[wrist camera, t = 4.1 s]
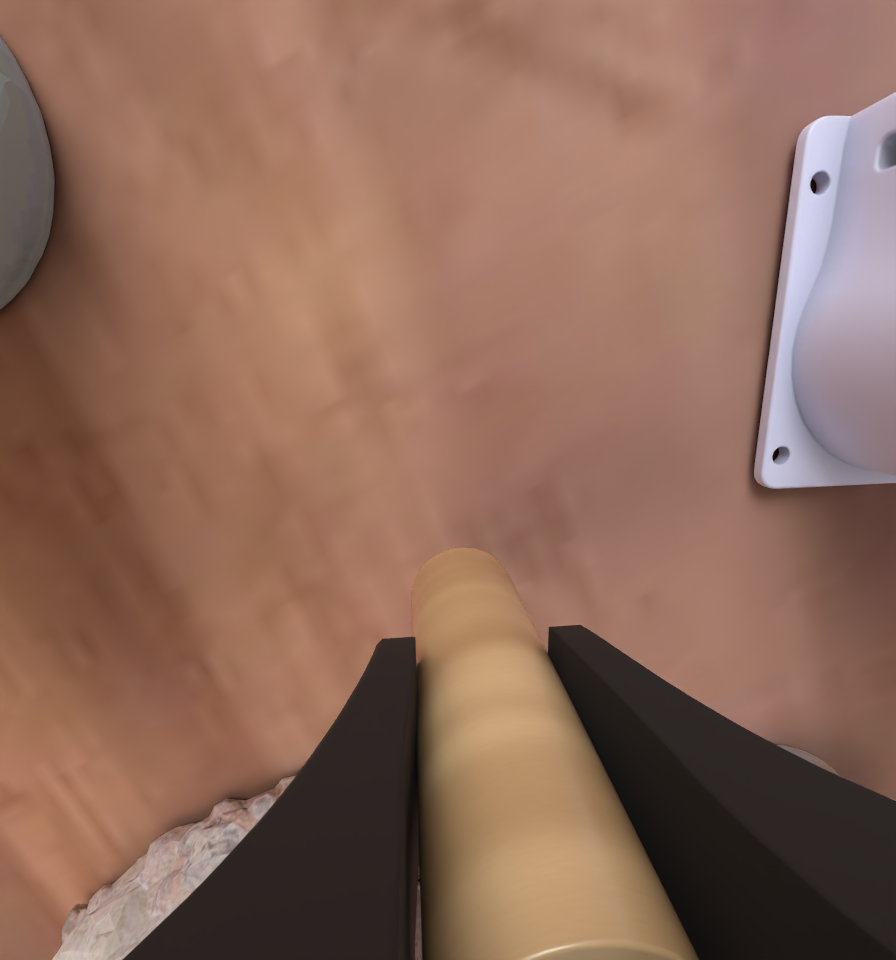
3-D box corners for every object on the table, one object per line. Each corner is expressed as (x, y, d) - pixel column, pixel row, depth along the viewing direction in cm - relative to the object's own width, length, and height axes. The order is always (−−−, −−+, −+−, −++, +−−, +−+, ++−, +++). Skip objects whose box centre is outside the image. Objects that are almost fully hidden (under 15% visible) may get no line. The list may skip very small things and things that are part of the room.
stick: (408, 549, 12) (420, 966, 4) (512, 543, 12) (741, 926, 4) (413, 642, 13) (430, 1177, 4) (511, 635, 13) (707, 1133, 4)
